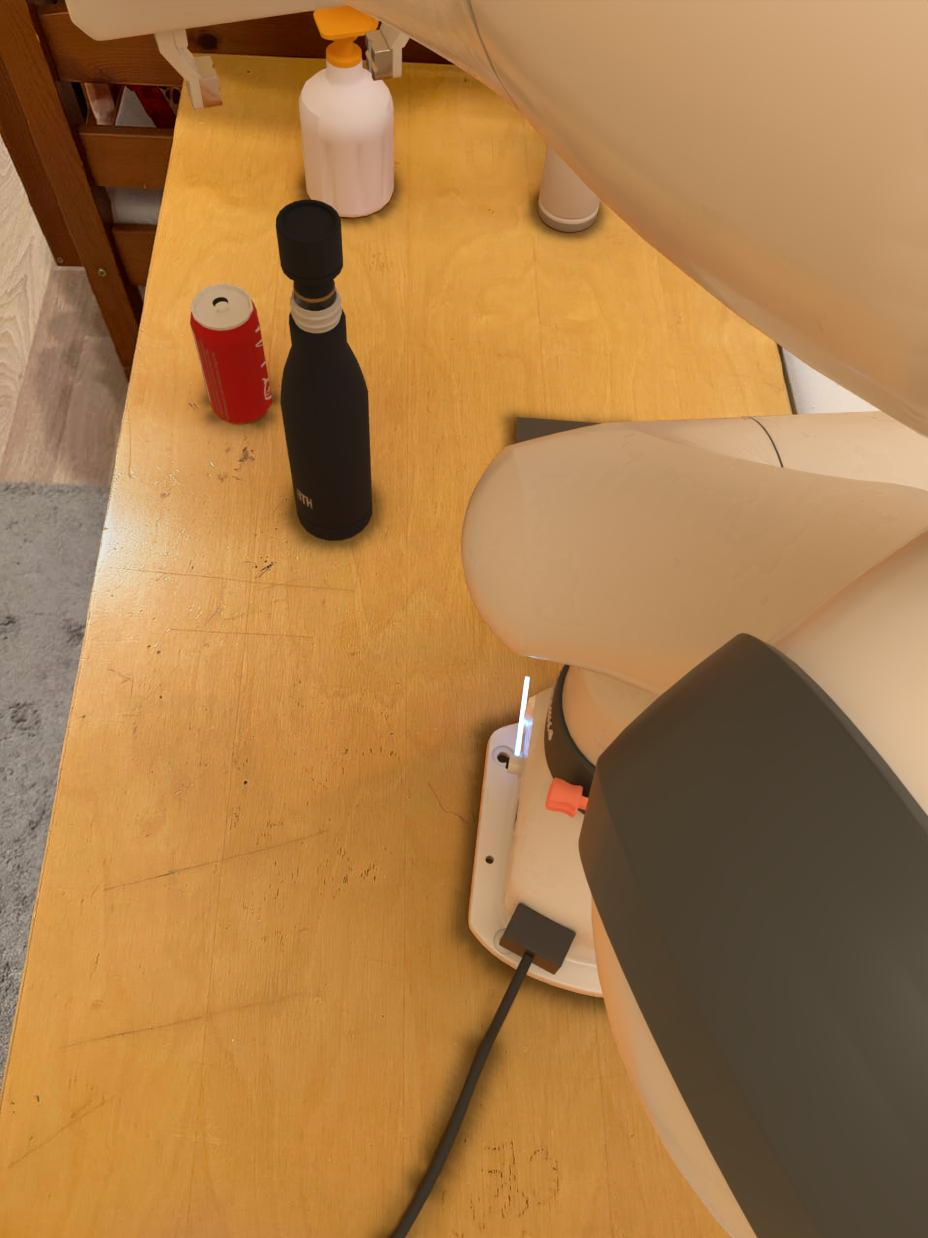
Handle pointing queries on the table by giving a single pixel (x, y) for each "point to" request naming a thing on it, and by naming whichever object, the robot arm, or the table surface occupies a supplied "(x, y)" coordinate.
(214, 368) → the soda can
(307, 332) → the black insulated water bottle
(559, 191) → the travel mug
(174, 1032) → the table surface
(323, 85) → the soap bottle
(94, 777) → the table surface
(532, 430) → the slate coaster
